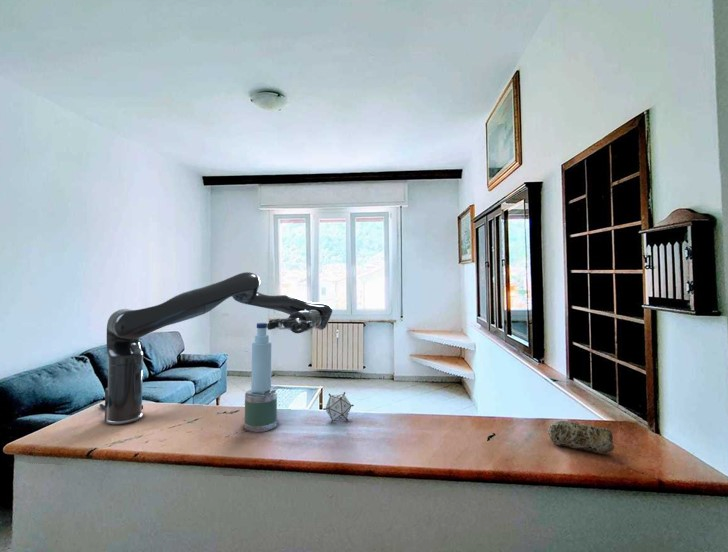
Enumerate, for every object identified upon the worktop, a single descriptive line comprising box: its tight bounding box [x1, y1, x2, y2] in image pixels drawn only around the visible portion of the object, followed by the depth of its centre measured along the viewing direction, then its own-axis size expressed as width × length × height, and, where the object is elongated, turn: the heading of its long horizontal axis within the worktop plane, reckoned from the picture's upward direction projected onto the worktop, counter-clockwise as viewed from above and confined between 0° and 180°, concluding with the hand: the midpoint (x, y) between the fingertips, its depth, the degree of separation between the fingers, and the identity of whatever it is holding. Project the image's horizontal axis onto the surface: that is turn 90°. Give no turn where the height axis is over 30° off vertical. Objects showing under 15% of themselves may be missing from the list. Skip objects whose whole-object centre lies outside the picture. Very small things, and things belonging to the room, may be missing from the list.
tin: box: [244, 388, 278, 433], centre depth 117 cm, size 9×9×10 cm
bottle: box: [250, 322, 272, 393], centre depth 118 cm, size 6×6×20 cm
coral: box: [547, 419, 615, 455], centre depth 102 cm, size 14×6×6 cm, turn 59°
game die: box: [322, 391, 355, 424], centre depth 121 cm, size 9×8×10 cm
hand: (280, 327), depth 128 cm, fingers open, 8 cm apart
